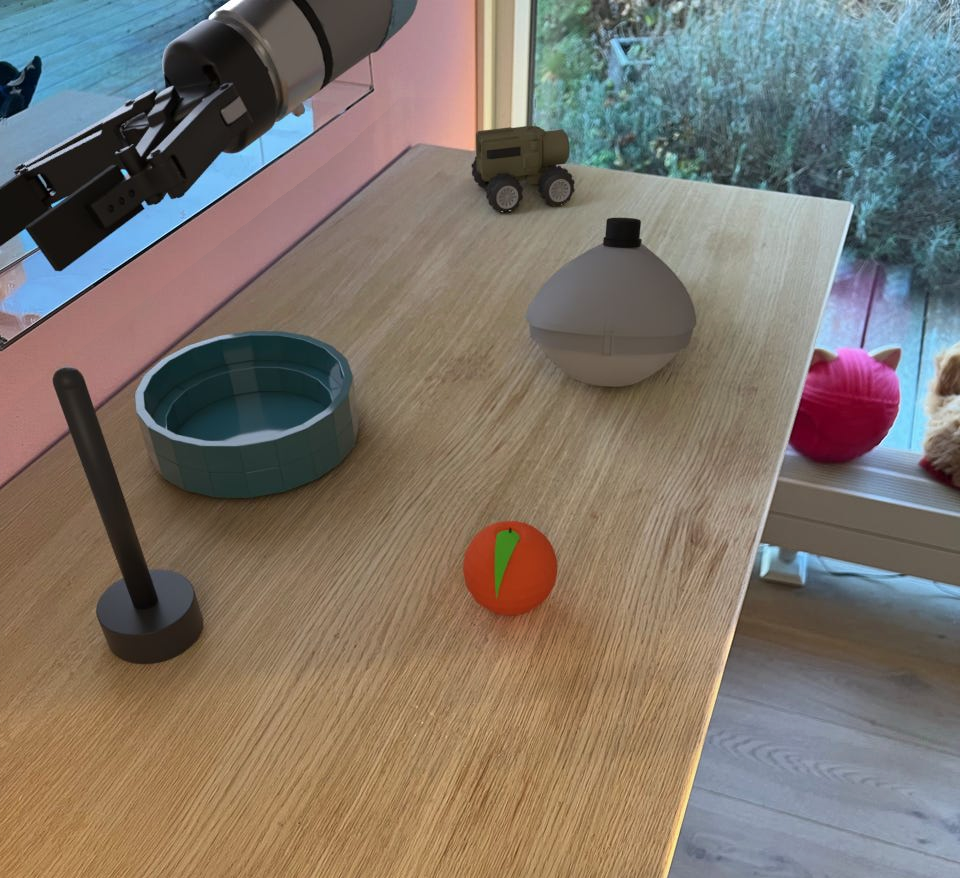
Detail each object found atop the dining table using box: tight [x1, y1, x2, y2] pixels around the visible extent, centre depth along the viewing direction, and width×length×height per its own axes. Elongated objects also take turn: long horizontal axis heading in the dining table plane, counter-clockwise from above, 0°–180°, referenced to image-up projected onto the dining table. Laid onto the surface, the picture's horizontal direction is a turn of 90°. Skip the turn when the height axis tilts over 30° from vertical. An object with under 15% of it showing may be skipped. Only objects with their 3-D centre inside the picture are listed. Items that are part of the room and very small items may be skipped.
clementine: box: [462, 520, 558, 617], centre depth 75 cm, size 8×7×7 cm
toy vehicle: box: [470, 98, 576, 212], centre depth 127 cm, size 10×11×12 cm
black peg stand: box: [52, 365, 204, 665], centre depth 69 cm, size 7×7×22 cm
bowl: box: [134, 330, 360, 499], centre depth 92 cm, size 19×19×6 cm
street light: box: [524, 217, 698, 388], centre depth 101 cm, size 30×16×14 cm, turn 171°
